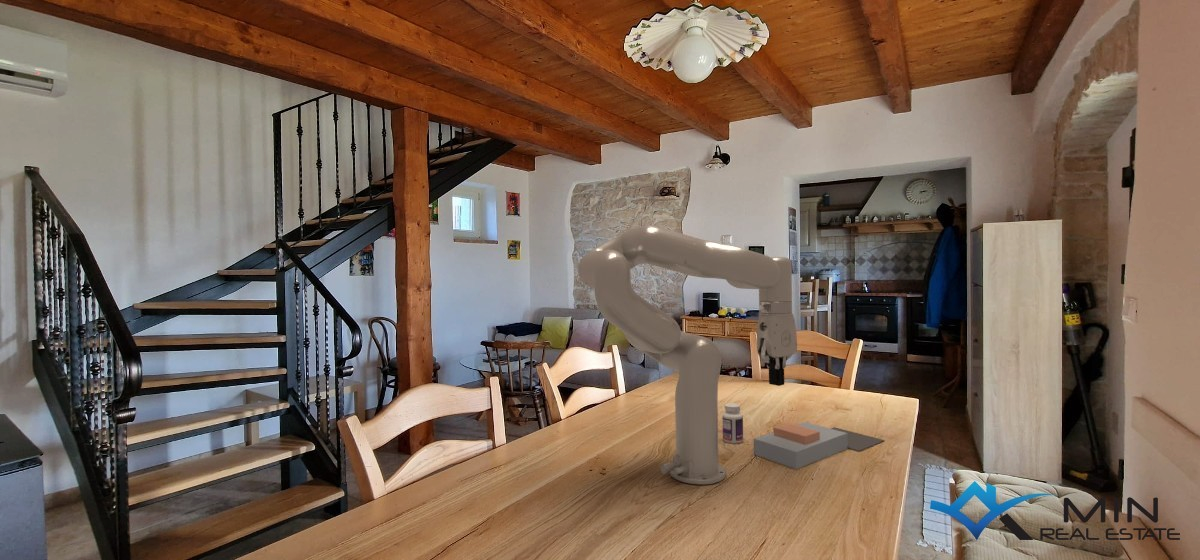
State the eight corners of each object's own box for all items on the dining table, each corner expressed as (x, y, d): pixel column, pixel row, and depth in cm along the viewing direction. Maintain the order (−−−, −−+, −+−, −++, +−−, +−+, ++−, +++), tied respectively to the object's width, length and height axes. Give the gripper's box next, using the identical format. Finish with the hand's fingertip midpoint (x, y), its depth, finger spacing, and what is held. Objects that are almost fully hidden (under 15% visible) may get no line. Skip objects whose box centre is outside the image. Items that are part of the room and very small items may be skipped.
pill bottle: (741, 437, 142) (740, 402, 141) (744, 444, 136) (744, 407, 136) (721, 437, 142) (720, 402, 142) (724, 443, 137) (723, 407, 137)
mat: (859, 451, 129) (859, 450, 129) (808, 437, 141) (808, 436, 141) (884, 441, 137) (884, 440, 137) (834, 428, 148) (834, 427, 148)
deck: (796, 469, 119) (796, 452, 119) (753, 454, 129) (753, 438, 129) (847, 448, 132) (847, 433, 131) (805, 436, 141) (805, 422, 141)
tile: (805, 444, 123) (805, 436, 123) (773, 435, 131) (773, 427, 131) (819, 439, 127) (819, 431, 127) (787, 430, 134) (787, 423, 134)
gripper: (769, 311, 116) (770, 392, 117) (807, 307, 125) (808, 382, 125) (742, 309, 122) (743, 386, 123) (781, 305, 131) (782, 377, 131)
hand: (776, 384), depth 124 cm, fingers closed
